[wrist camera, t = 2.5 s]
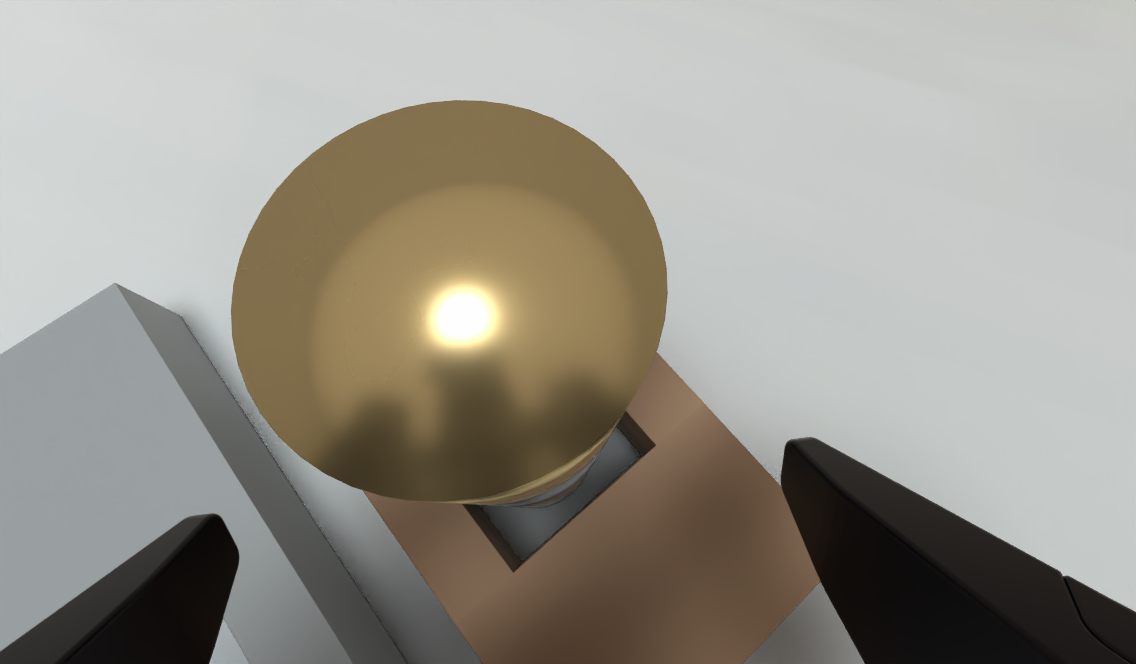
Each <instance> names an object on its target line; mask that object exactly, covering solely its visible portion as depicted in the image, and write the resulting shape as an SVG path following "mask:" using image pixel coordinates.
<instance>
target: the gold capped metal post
mask: <svg viewBox="0 0 1136 664" xmlns="http://www.w3.org/2000/svg"><path fill="white" fill-rule="evenodd" d="M667 294H668V293H667V268H666V262H665V257H664V251H663V246H662V242H661V239H660V236H659V233H658V230H657V227H656V224H655V221H654V218H653V216H652V214H651V212H650V210H649V208H648V206H647V204H646V202H645V200H644V198H643V196H642V195H641V193H640V192H639V190H638V189H637V187H636V186H635V184H634V183H633V181H632V180H631V179H630V177H629V176H628V175H627V174H626V173H625V171H624V170H623V169H622V168H621V167H620V166H619V165H618V164H617V162H616V161H615V160H614V159H613V158H612V157H611V156H609V155H608V154H607V153H606V152H605V151H604V150H602V149H601V148H600V147H599V146H598V145H597V144H596V143H594V142H593V141H591V140H590V139H588V138H587V137H585V136H584V135H582V134H581V133H579V132H578V131H576V130H575V129H573V128H571V127H569V126H567V125H565V124H563V123H561V122H559V121H557V120H555V119H553V118H550V117H548V116H545V115H542V114H540V113H537V112H534V111H531V110H528V109H524V108H520V107H516V106H512V105H508V104H501V103H493V102H486V101H461V100H455V101H443V102H431V103H426V104H421V105H416V106H410V107H406V108H402V109H399V110H396V111H392V112H389V113H386V114H382V115H380V116H377V117H375V118H373V119H370V120H368V121H366V122H363V123H361V124H358V125H357V126H355V127H353V128H351V129H349V130H347V131H346V132H344V133H342V134H340V135H338V136H337V137H335V138H333V139H332V140H331V141H329V142H328V143H326V144H325V145H323V146H322V147H321V148H319V149H318V150H316V151H315V152H314V153H312V154H311V155H310V156H309V157H308V158H307V159H306V160H305V161H303V162H302V163H301V164H300V165H299V166H298V167H297V168H295V169H294V170H293V172H292V173H291V174H290V175H289V176H288V177H287V178H286V179H285V180H284V181H283V183H282V184H281V185H280V186H279V187H278V188H277V189H276V191H275V192H274V194H273V195H272V196H271V198H270V199H269V201H268V202H267V203H266V205H265V206H264V208H263V209H262V211H261V212H260V214H259V216H258V218H257V220H256V222H255V224H254V225H253V227H252V229H251V231H250V233H249V235H248V238H247V240H246V243H245V246H244V248H243V251H242V253H241V256H240V259H239V263H238V267H237V272H236V276H235V280H234V284H233V295H232V306H231V319H232V338H233V343H234V347H235V352H236V357H237V362H238V366H239V368H240V371H241V374H242V377H243V379H244V382H245V385H246V387H247V390H248V392H249V394H250V395H251V397H252V399H253V401H254V403H255V404H256V406H257V408H258V410H259V412H260V413H261V415H262V416H263V417H264V419H265V420H266V421H267V422H268V424H269V425H270V426H271V428H272V429H273V430H274V431H275V433H276V434H277V435H278V437H280V438H281V439H282V440H283V441H284V442H285V443H286V444H287V445H288V446H289V447H290V448H291V449H292V450H293V451H294V452H296V453H297V454H298V455H299V456H300V457H301V458H303V459H304V460H306V461H307V462H309V463H310V464H312V465H313V466H314V467H316V468H317V469H319V470H320V471H322V472H323V473H325V474H327V475H329V476H331V477H333V478H335V479H337V480H339V481H341V482H343V483H345V484H348V485H350V486H352V487H355V488H358V489H361V490H364V491H367V492H371V493H374V494H377V495H380V496H385V497H391V498H397V499H403V500H409V501H419V502H438V503H456V504H475V505H494V506H512V507H535V508H536V507H544V506H548V505H552V504H554V503H556V502H559V501H561V500H562V499H564V498H566V497H567V496H568V495H570V494H571V493H572V492H573V491H574V490H575V489H576V488H577V487H578V486H579V485H580V483H581V482H582V481H583V479H584V477H585V476H586V474H587V473H588V471H589V469H590V468H591V466H592V464H593V463H594V461H595V460H596V458H597V456H598V455H599V453H600V451H601V450H602V448H603V446H604V445H605V443H606V442H607V440H608V438H609V437H610V435H611V433H612V432H613V430H614V428H615V427H616V425H617V424H618V422H619V420H620V419H621V417H622V415H623V414H624V412H625V411H626V409H627V407H628V406H629V404H630V402H631V401H632V399H633V397H634V396H635V394H636V392H637V390H638V389H639V387H640V385H641V384H642V382H643V380H644V378H645V377H646V375H647V373H648V371H649V368H650V366H651V363H652V361H653V358H654V356H655V353H656V351H657V348H658V345H659V341H660V337H661V333H662V329H663V325H664V321H665V313H666V303H667Z"/></svg>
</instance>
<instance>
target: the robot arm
mask: <svg viewBox="0 0 1136 664" xmlns="http://www.w3.org/2000/svg"><path fill="white" fill-rule="evenodd" d="M781 486H782V491H783V494H784V496H785V499H786V501H787V503H788V506H789V508H790V511H791V513H792V515H793V518H794V520H795V523H796V525H797V527H798V530H799V532H800V535H801V537H802V539H803V542H804V544H805V547H806V549H807V551H808V554H809V556H810V559H811V561H812V563H813V566H814V568H815V570H816V572H817V575H818V577H819V579H820V581H821V583H822V585H823V587H824V589H825V591H826V593H827V595H828V597H829V599H830V600H831V602H832V604H833V606H834V608H835V610H836V611H837V613H838V615H839V617H840V619H841V621H842V622H843V624H844V626H845V628H846V630H847V632H848V633H849V635H850V637H851V639H852V641H853V643H854V644H855V646H856V648H857V650H858V652H859V654H860V655H861V657H862V659H863V661H864V663H865V664H1136V612H1135V611H1133V610H1131V609H1129V608H1127V607H1126V606H1124V605H1122V604H1120V603H1118V602H1116V601H1114V600H1112V599H1110V598H1108V597H1107V596H1105V595H1103V594H1101V593H1099V592H1097V591H1095V590H1094V589H1092V588H1090V587H1088V586H1086V585H1084V584H1083V583H1081V582H1079V581H1077V580H1075V579H1073V578H1072V577H1070V576H1063V575H1062V573H1061V572H1060V571H1058V570H1057V569H1055V568H1053V567H1051V566H1049V565H1047V564H1046V563H1044V562H1042V561H1040V560H1038V559H1036V558H1035V557H1033V556H1031V555H1029V554H1027V553H1025V552H1024V551H1022V550H1020V549H1018V548H1016V547H1014V546H1013V545H1011V544H1009V543H1007V542H1005V541H1003V540H1001V539H1000V538H998V537H996V536H994V535H992V534H990V533H989V532H987V531H985V530H983V529H981V528H979V527H978V526H976V525H974V524H972V523H970V522H968V521H967V520H965V519H963V518H961V517H959V516H957V515H956V514H954V513H952V512H950V511H948V510H946V509H945V508H943V507H941V506H939V505H937V504H935V503H934V502H932V501H930V500H928V499H926V498H924V497H923V496H921V495H919V494H917V493H915V492H913V491H912V490H910V489H908V488H906V487H904V486H902V485H901V484H899V483H897V482H895V481H893V480H891V479H890V478H888V477H886V476H884V475H882V474H880V473H879V472H877V471H875V470H873V469H871V468H869V467H867V466H866V465H864V464H862V463H860V462H858V461H856V460H855V459H853V458H851V457H849V456H847V455H845V454H844V453H842V452H840V451H838V450H836V449H834V448H833V447H831V446H829V445H827V444H825V443H823V442H822V441H820V440H818V439H816V438H813V437H807V438H799V439H791V440H789V441H788V442H787V443H786V445H785V449H784V457H783V465H782V472H781ZM239 559H240V557H239V550H238V547H237V545H236V543H235V541H234V539H233V537H232V536H231V534H230V532H229V530H228V528H227V526H226V524H225V522H224V520H223V519H222V517H221V516H219V515H218V514H214V513H209V514H201V515H194V516H190V517H187V518H185V519H183V520H182V521H180V522H179V523H178V524H176V525H175V526H173V527H172V528H171V529H169V530H168V531H167V532H165V533H164V534H162V535H161V536H160V537H158V538H157V539H155V540H154V541H153V542H151V543H150V544H148V545H147V546H146V547H144V548H143V549H141V550H140V551H139V552H137V553H136V554H135V555H133V556H132V557H130V558H129V559H128V560H126V561H125V562H123V563H122V564H121V565H119V566H118V567H116V568H115V569H114V570H112V571H111V572H110V573H108V574H107V575H105V576H104V577H103V578H101V579H100V580H98V581H97V582H96V583H94V584H93V585H91V586H90V587H89V588H87V589H86V590H84V591H83V592H82V593H80V594H79V595H78V596H76V597H75V598H73V599H72V600H71V601H69V602H68V603H66V604H65V605H64V606H62V607H61V608H59V609H58V610H57V611H55V612H54V613H53V614H51V615H50V616H48V617H47V618H46V619H44V620H43V621H41V622H40V623H39V624H37V625H36V626H34V627H33V628H32V629H30V630H29V631H27V632H26V633H25V634H23V635H22V636H21V637H19V638H18V639H16V640H15V641H14V642H12V643H11V644H9V645H8V646H7V647H5V648H4V649H2V650H1V651H0V664H209V662H210V659H211V656H212V653H213V650H214V647H215V644H216V640H217V637H218V634H219V630H220V627H221V624H222V620H223V617H224V613H225V610H226V607H227V603H228V600H229V597H230V593H231V590H232V586H233V583H234V580H235V576H236V573H237V570H238V566H239Z"/></svg>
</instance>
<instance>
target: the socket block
mask: <svg viewBox="0 0 1136 664" xmlns="http://www.w3.org/2000/svg"><path fill="white" fill-rule="evenodd" d="M616 426H617V427H618V428H619V429H620V430H621V432H622V433H623V434H624V435H625V436H626V437H627V439H628V440H629V441H630V442H631V443H632V444H633V446H634V447H635V448H636V449H637V450H638V451H639V453H640V454H641V455H642V456H641V457H640V458H639V459H637V460H636V461H635V462H634V463H633V464H632V465H631V466H630V467H628V468H627V469H626V470H625V471H624V472H623V473H622V474H621V475H619V476H618V477H617V478H616V479H615V480H614V481H613V482H612V483H610V484H609V485H608V486H607V487H606V488H605V489H604V490H603V491H601V492H600V493H599V494H598V495H597V496H596V497H595V498H594V499H593V500H591V501H590V502H589V503H588V504H587V505H586V506H585V507H584V508H582V509H581V510H580V511H579V512H578V513H577V514H576V515H575V516H573V517H572V518H571V519H570V520H569V521H568V522H567V523H566V524H564V525H563V526H562V527H561V528H560V529H559V530H558V531H557V532H555V533H554V534H553V535H552V536H551V537H550V538H549V539H548V540H546V541H545V542H544V543H543V544H542V545H541V546H540V547H539V548H537V549H536V550H535V551H534V552H533V553H532V554H531V555H530V556H528V557H527V558H526V559H525V560H524V561H523V562H521V561H520V559H519V558H518V557H517V555H516V554H515V553H514V551H513V550H512V549H511V547H510V546H509V545H508V543H507V542H506V541H505V539H504V538H503V537H502V535H501V534H500V533H499V531H498V530H497V529H496V527H495V526H494V525H493V523H492V522H491V521H490V519H489V518H488V517H487V515H486V514H485V513H484V511H483V510H482V509H481V507H480V506H479V505H475V504H456V503H438V502H419V501H409V500H403V499H397V498H391V497H385V496H380V495H377V494H374V493H371V492H367V491H364V490H363V492H364V493H365V495H366V496H367V497H368V499H369V500H370V502H371V503H372V505H373V506H374V508H375V509H376V510H377V512H378V513H379V515H380V516H381V518H382V519H383V521H384V522H385V523H386V525H387V526H388V528H389V529H390V531H391V532H392V534H393V535H394V537H395V538H396V539H397V541H398V542H399V544H400V545H401V547H402V548H403V550H404V551H405V552H406V554H407V555H408V557H409V558H410V560H411V561H412V563H413V564H414V565H415V567H416V568H417V570H418V571H419V573H420V574H421V576H422V577H423V578H424V580H425V581H426V583H427V584H428V586H429V587H430V589H431V590H432V591H433V593H434V594H435V596H436V597H437V599H438V600H439V602H440V603H441V605H442V606H443V607H444V609H445V610H446V612H447V613H448V615H449V616H450V618H451V619H452V620H453V622H454V623H455V625H456V626H457V628H458V629H459V631H460V632H461V633H462V635H463V636H464V638H465V639H466V641H467V642H468V644H469V645H470V646H471V648H472V649H473V651H474V652H475V654H476V655H477V657H478V658H479V660H480V661H481V662H482V664H742V663H743V662H744V661H745V660H746V659H747V658H748V657H749V656H750V655H751V654H752V653H753V652H754V651H755V650H756V649H757V647H758V646H759V645H760V644H761V643H762V642H763V641H764V640H765V639H766V638H767V637H768V636H769V635H770V634H771V633H772V632H773V631H774V630H775V629H776V627H777V626H778V625H779V624H780V623H781V622H782V621H783V620H784V619H785V618H786V617H787V616H788V615H789V614H790V613H791V612H792V611H793V610H794V608H795V607H796V606H797V605H798V604H799V603H800V602H801V601H802V600H803V599H804V598H805V597H806V596H807V595H808V594H809V593H810V592H811V591H812V590H813V588H814V587H815V586H816V585H817V584H818V583H819V582H820V579H819V577H818V575H817V572H816V570H815V568H814V566H813V563H812V561H811V559H810V556H809V554H808V551H807V549H806V547H805V544H804V542H803V539H802V537H801V535H800V532H799V530H798V527H797V525H796V523H795V520H794V518H793V515H792V513H791V511H790V508H789V506H788V503H787V501H786V499H785V496H784V494H783V491H782V487H781V486H780V485H779V484H778V483H777V482H776V481H775V479H774V478H773V477H772V476H771V475H770V474H769V473H768V472H767V471H766V470H765V469H764V468H763V466H762V465H761V464H760V463H759V462H758V461H757V460H756V459H755V458H754V457H753V456H752V455H751V454H750V452H749V451H748V450H747V449H746V448H745V447H744V446H743V445H742V444H741V443H740V442H739V441H738V439H737V438H736V437H735V436H734V435H733V434H732V433H731V432H730V431H729V430H728V429H727V428H726V427H725V425H724V424H723V423H722V422H721V421H720V420H719V419H718V418H717V417H716V416H715V415H714V414H713V412H712V411H711V410H710V409H709V408H708V407H707V406H706V405H705V404H704V403H703V402H702V401H701V400H700V398H699V397H698V396H697V395H696V394H695V393H694V392H693V391H692V390H691V389H690V388H689V387H688V385H687V384H686V383H685V382H684V381H683V380H682V379H681V378H680V377H679V376H678V375H677V374H676V372H675V371H674V370H673V369H672V368H671V367H670V366H669V365H668V364H667V363H666V362H665V361H664V360H663V358H662V357H661V356H660V355H659V354H658V353H657V352H656V353H655V356H654V358H653V361H652V363H651V366H650V368H649V371H648V373H647V375H646V377H645V378H644V380H643V382H642V384H641V385H640V387H639V389H638V390H637V392H636V394H635V396H634V397H633V399H632V401H631V402H630V404H629V406H628V407H627V409H626V411H625V412H624V414H623V415H622V417H621V419H620V420H619V422H618V424H617V425H616Z"/></svg>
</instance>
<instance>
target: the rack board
mask: <svg viewBox="0 0 1136 664" xmlns="http://www.w3.org/2000/svg"><path fill="white" fill-rule="evenodd" d="M209 513H214V514H218V515H219V516H221V517H222V519H223V520H224V522H225V524H226V526H227V528H228V530H229V532H230V534H231V536H232V537H233V539H234V541H235V543H236V545H237V547H238V550H239V557H240V559H239V566H238V570H237V573H236V576H235V580H234V583H233V586H232V590H231V593H230V597H229V600H228V603H227V607H226V610H225V613H224V617H223V618H224V620H225V622H226V623H227V625H228V627H229V629H230V630H231V632H232V634H233V636H234V637H235V639H236V641H237V643H238V644H239V646H240V648H241V650H242V651H243V653H244V655H245V657H246V658H247V660H248V662H249V664H407V662H406V661H405V659H404V658H403V656H402V655H401V653H400V652H399V650H398V649H397V647H396V645H395V644H394V642H393V641H392V639H391V638H390V636H389V635H388V633H387V632H386V630H385V629H384V627H383V626H382V624H381V622H380V621H379V619H378V618H377V616H376V615H375V613H374V612H373V610H372V609H371V607H370V606H369V604H368V603H367V601H366V600H365V598H364V596H363V595H362V593H361V592H360V590H359V589H358V587H357V586H356V584H355V583H354V581H353V580H352V578H351V577H350V575H349V573H348V572H347V570H346V569H345V567H344V566H343V564H342V563H341V561H340V560H339V558H338V557H337V555H336V554H335V552H334V551H333V549H332V547H331V546H330V544H329V543H328V541H327V540H326V538H325V537H324V535H323V534H322V532H321V531H320V529H319V528H318V526H317V524H316V523H315V521H314V520H313V518H312V517H311V515H310V514H309V512H308V511H307V509H306V508H305V506H304V505H303V503H302V502H301V500H300V498H299V497H298V495H297V494H296V492H295V491H294V489H293V488H292V486H291V485H290V483H289V482H288V480H287V479H286V477H285V475H284V474H283V472H282V471H281V469H280V468H279V466H278V465H277V463H276V462H275V460H274V459H273V457H272V456H271V454H270V453H269V451H268V449H267V448H266V446H265V445H264V443H263V442H262V440H261V439H260V437H259V436H258V434H257V433H256V431H255V430H254V428H253V426H252V425H251V423H250V422H249V420H248V419H247V417H246V416H245V414H244V413H243V411H242V410H241V408H240V407H239V405H238V404H237V402H236V400H235V399H234V397H233V396H232V394H231V393H230V391H229V390H228V388H227V387H226V385H225V384H224V382H223V381H222V379H221V378H220V376H219V374H218V373H217V371H216V370H215V368H214V367H213V365H212V364H211V362H210V361H209V359H208V358H207V356H206V355H205V353H204V351H203V350H202V348H201V347H200V345H199V344H198V342H197V341H196V339H195V338H194V336H193V335H192V333H191V332H190V330H189V329H188V327H187V325H186V324H185V322H184V321H183V319H182V318H181V316H180V315H178V314H176V313H174V312H172V311H170V310H168V309H166V308H164V307H162V306H160V305H158V304H156V303H154V302H152V301H150V300H148V299H146V298H144V297H142V296H140V295H138V294H136V293H134V292H132V291H130V290H128V289H126V288H124V287H122V286H120V285H118V284H116V283H114V284H112V285H110V286H109V287H107V288H106V289H104V290H103V291H101V292H99V293H98V294H96V295H95V296H93V297H91V298H90V299H88V300H87V301H85V302H83V303H82V304H80V305H79V306H77V307H75V308H74V309H72V310H71V311H69V312H67V313H66V314H64V315H63V316H61V317H59V318H58V319H56V320H55V321H53V322H52V323H50V324H48V325H47V326H45V327H44V328H42V329H40V330H39V331H37V332H36V333H34V334H32V335H31V336H29V337H28V338H26V339H24V340H23V341H21V342H20V343H18V344H16V345H15V346H13V347H12V348H10V349H8V350H7V351H5V352H4V353H2V354H0V651H1V650H2V649H4V648H5V647H7V646H8V645H9V644H11V643H12V642H14V641H15V640H16V639H18V638H19V637H21V636H22V635H23V634H25V633H26V632H27V631H29V630H30V629H32V628H33V627H34V626H36V625H37V624H39V623H40V622H41V621H43V620H44V619H46V618H47V617H48V616H50V615H51V614H53V613H54V612H55V611H57V610H58V609H59V608H61V607H62V606H64V605H65V604H66V603H68V602H69V601H71V600H72V599H73V598H75V597H76V596H78V595H79V594H80V593H82V592H83V591H84V590H86V589H87V588H89V587H90V586H91V585H93V584H94V583H96V582H97V581H98V580H100V579H101V578H103V577H104V576H105V575H107V574H108V573H110V572H111V571H112V570H114V569H115V568H116V567H118V566H119V565H121V564H122V563H123V562H125V561H126V560H128V559H129V558H130V557H132V556H133V555H135V554H136V553H137V552H139V551H140V550H141V549H143V548H144V547H146V546H147V545H148V544H150V543H151V542H153V541H154V540H155V539H157V538H158V537H160V536H161V535H162V534H164V533H165V532H167V531H168V530H169V529H171V528H172V527H173V526H175V525H176V524H178V523H179V522H180V521H182V520H183V519H185V518H187V517H190V516H194V515H201V514H209Z"/></svg>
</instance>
